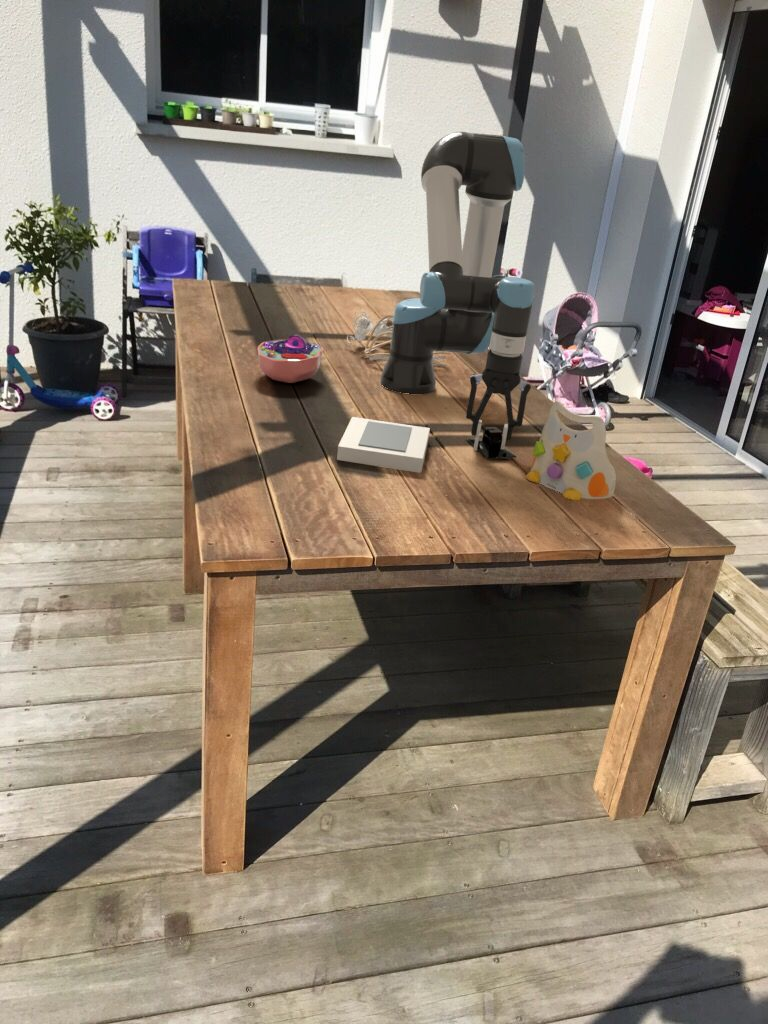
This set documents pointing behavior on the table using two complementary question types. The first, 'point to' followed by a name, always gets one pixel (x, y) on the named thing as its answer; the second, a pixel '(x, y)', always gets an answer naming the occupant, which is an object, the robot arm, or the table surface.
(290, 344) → the cell model
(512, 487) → the table surface
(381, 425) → the plinth
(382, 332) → the plant holder
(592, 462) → the shape sorter
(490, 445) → the black stand
